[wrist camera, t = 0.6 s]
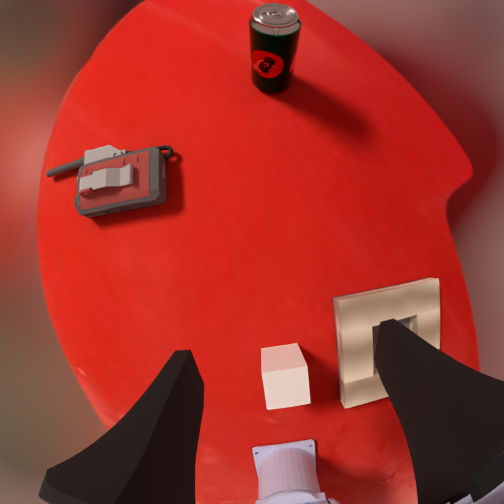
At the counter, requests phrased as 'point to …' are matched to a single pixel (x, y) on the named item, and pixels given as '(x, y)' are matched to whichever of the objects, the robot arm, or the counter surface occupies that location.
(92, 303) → the counter surface
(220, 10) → the counter surface
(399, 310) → the holder block
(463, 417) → the robot arm
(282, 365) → the white rectangular block
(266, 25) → the soda can
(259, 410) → the counter surface
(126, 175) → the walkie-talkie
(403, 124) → the counter surface
